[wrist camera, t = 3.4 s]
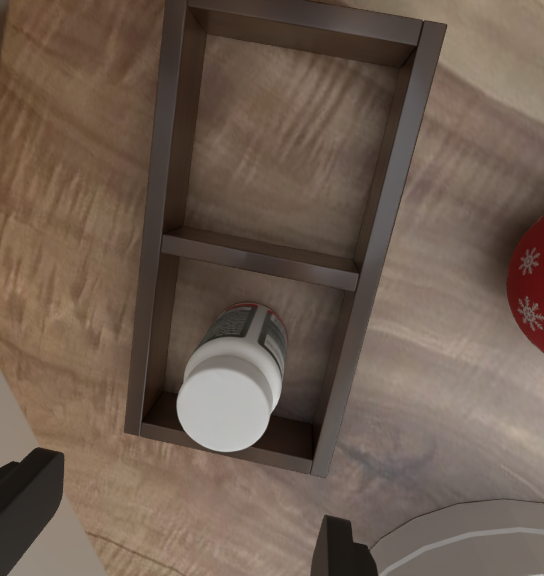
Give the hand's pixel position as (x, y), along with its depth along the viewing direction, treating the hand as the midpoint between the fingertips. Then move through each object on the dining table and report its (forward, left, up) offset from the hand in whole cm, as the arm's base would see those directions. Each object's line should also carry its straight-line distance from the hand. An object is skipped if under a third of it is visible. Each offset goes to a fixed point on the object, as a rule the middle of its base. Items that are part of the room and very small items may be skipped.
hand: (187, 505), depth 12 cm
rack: (0, +6, -13) cm, 14 cm away
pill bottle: (0, 0, -14) cm, 14 cm away
